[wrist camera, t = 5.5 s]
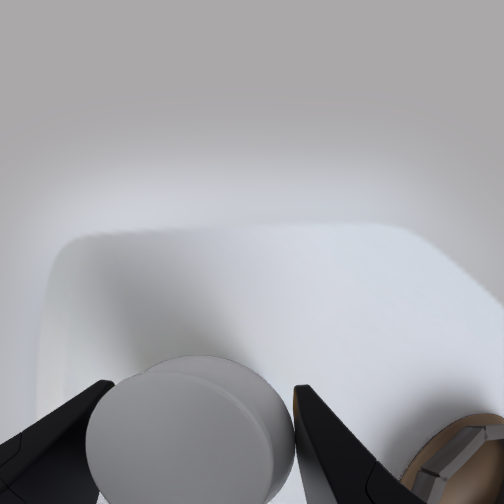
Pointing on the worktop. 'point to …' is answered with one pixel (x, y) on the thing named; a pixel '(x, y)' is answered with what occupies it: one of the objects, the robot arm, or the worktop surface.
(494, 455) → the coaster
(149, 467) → the supplement bottle
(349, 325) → the worktop surface
